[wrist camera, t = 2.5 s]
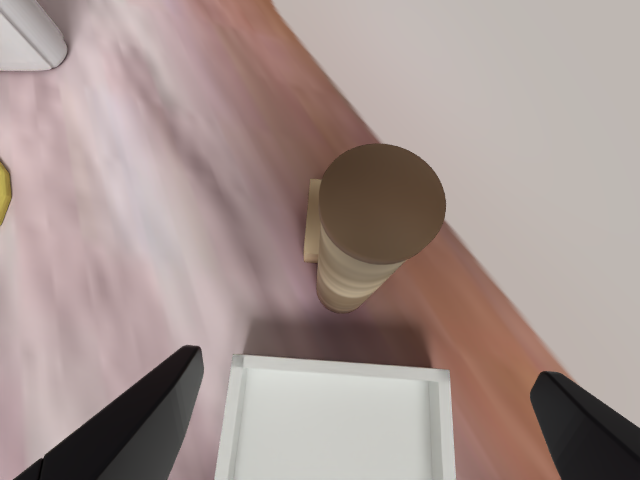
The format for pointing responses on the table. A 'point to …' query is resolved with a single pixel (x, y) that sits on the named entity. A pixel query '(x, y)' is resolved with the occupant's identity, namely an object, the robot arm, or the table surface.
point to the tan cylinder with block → (369, 220)
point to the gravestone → (28, 37)
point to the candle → (4, 191)
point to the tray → (335, 421)
